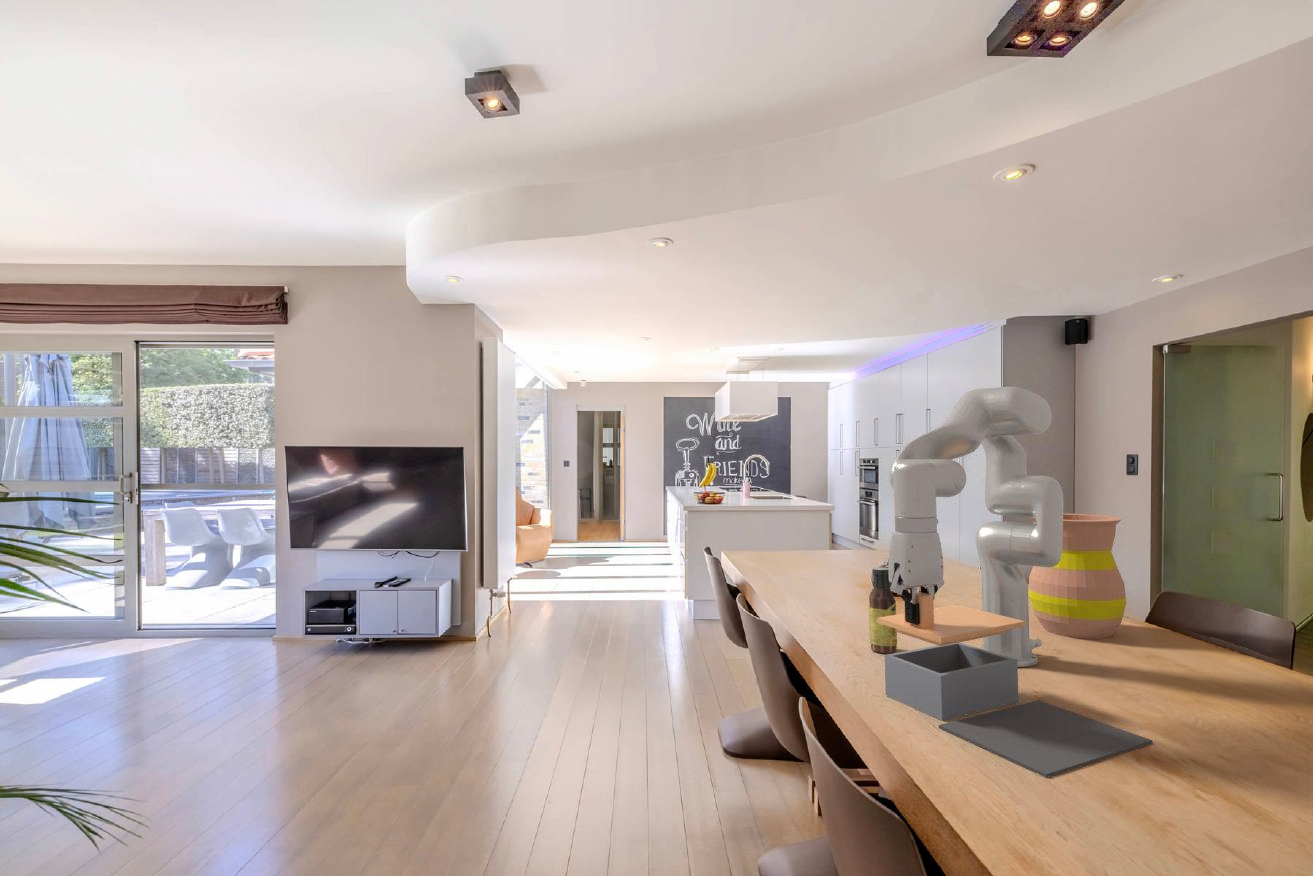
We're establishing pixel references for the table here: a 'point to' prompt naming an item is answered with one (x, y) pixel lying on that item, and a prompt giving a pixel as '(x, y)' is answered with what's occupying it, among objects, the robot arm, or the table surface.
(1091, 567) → the vase
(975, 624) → the lid
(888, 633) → the sauce bottle
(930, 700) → the tub
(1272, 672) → the table surface
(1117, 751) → the mat
